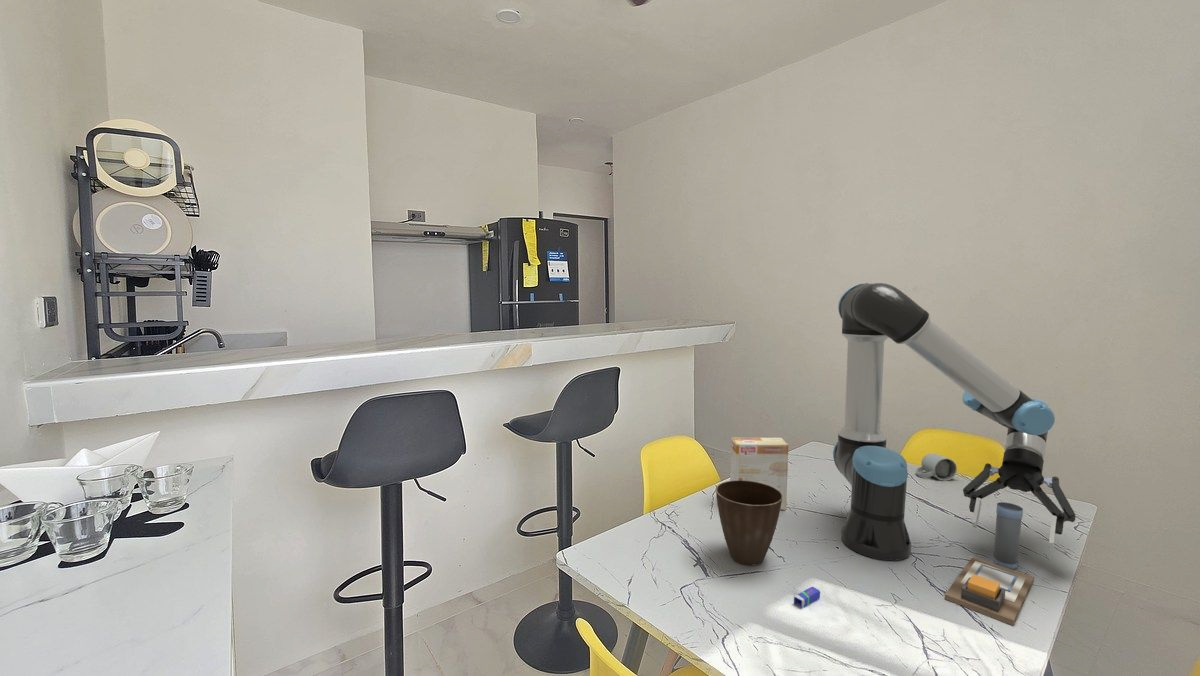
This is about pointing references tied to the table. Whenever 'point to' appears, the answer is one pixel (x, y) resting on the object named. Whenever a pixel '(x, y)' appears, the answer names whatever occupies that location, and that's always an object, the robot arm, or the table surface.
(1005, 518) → the cup
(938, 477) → the ceramic mug
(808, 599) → the eraser
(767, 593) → the table surface
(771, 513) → the plant pot
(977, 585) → the button
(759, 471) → the coffeecake box
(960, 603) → the wooden board
